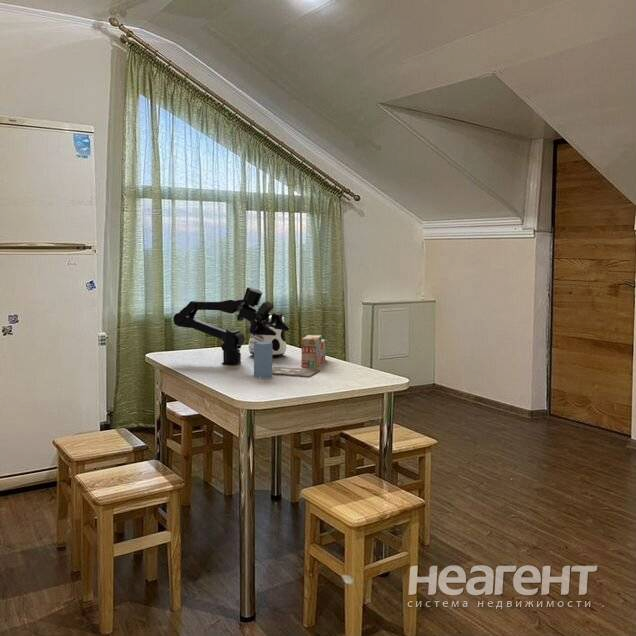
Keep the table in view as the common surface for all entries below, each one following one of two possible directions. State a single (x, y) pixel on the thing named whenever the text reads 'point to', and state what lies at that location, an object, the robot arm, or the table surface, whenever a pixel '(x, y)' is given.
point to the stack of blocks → (312, 350)
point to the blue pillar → (263, 359)
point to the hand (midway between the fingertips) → (282, 332)
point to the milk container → (270, 341)
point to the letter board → (293, 371)
